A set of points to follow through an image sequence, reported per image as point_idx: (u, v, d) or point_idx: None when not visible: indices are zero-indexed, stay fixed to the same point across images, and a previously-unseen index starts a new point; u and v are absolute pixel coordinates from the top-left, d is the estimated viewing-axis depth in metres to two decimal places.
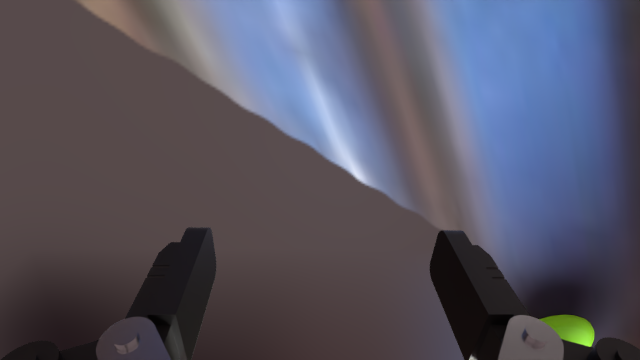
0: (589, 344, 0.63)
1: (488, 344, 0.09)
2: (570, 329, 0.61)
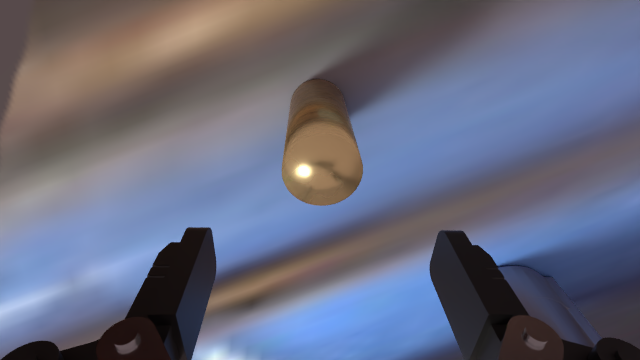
0: None
1: (488, 344, 0.09)
2: None
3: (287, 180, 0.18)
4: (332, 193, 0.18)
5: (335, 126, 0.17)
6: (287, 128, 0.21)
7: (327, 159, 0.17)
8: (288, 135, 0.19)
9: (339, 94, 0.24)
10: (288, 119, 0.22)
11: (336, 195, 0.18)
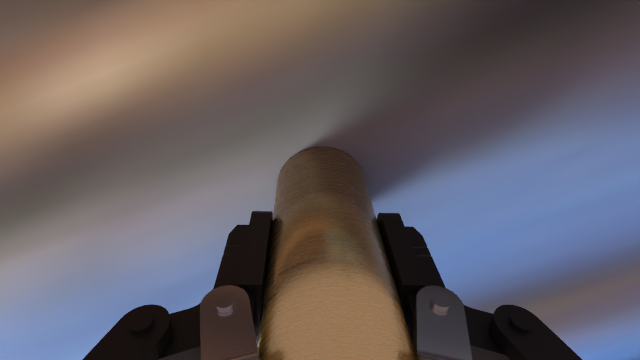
0: None
1: (405, 313, 0.10)
2: None
3: None
4: None
5: (370, 326, 0.08)
6: None
7: None
8: (265, 314, 0.09)
9: (359, 178, 0.14)
10: None
11: None
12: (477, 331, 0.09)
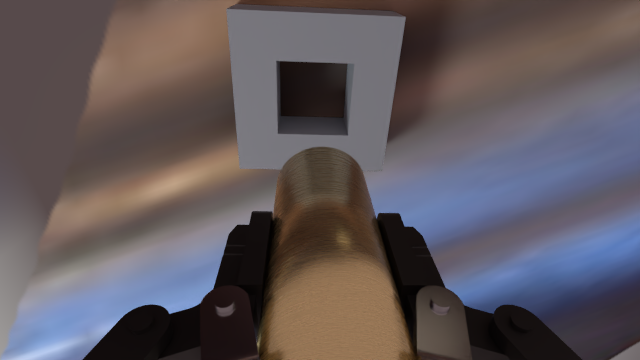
0: None
1: (405, 313, 0.10)
2: None
3: None
4: None
5: (370, 325, 0.08)
6: (266, 270, 0.11)
7: None
8: (265, 313, 0.09)
9: (359, 178, 0.14)
10: None
11: None
12: (477, 331, 0.09)
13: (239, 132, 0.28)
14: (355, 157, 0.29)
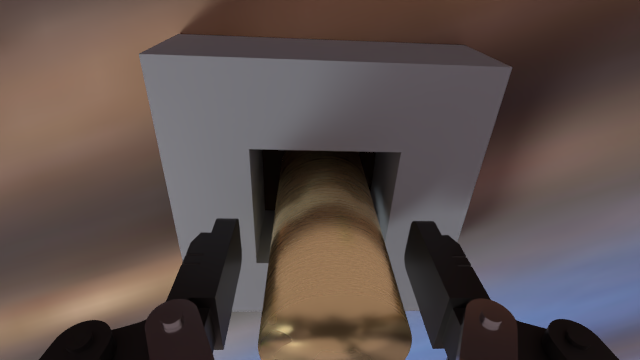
0: None
1: (450, 327, 0.10)
2: None
3: None
4: None
5: (359, 260, 0.09)
6: (273, 229, 0.12)
7: (345, 331, 0.09)
8: (273, 259, 0.11)
9: (354, 156, 0.16)
10: (276, 203, 0.14)
11: None
12: (530, 346, 0.09)
13: None
14: None
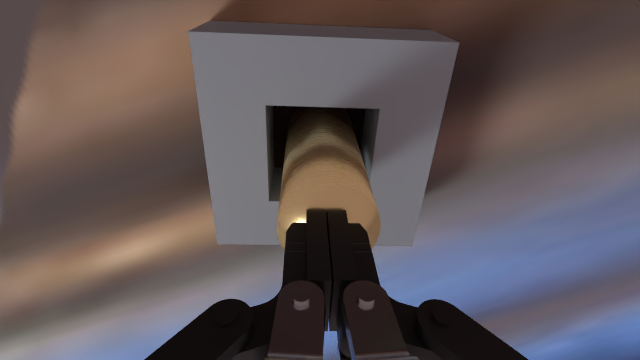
0: None
1: (338, 308, 0.10)
2: None
3: (284, 240, 0.14)
4: None
5: (346, 171, 0.14)
6: (284, 164, 0.17)
7: None
8: (285, 177, 0.15)
9: (346, 117, 0.20)
10: (285, 150, 0.18)
11: None
12: (402, 325, 0.09)
13: (214, 199, 0.20)
14: None
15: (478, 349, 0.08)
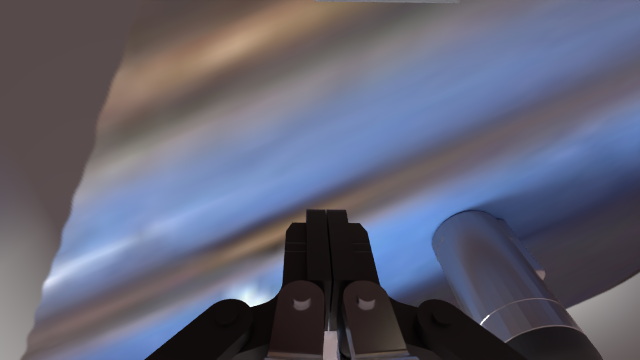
0: None
1: (338, 308, 0.10)
2: None
3: None
4: None
5: None
6: None
7: None
8: None
9: None
10: None
11: None
12: (402, 325, 0.09)
13: None
14: None
15: (478, 349, 0.08)
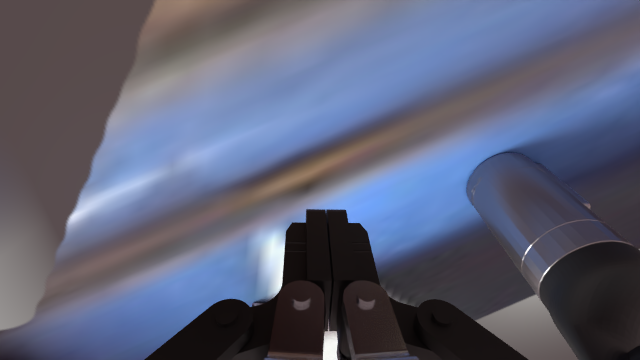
0: None
1: (338, 308, 0.10)
2: None
3: None
4: None
5: None
6: None
7: None
8: None
9: None
10: None
11: None
12: (402, 325, 0.09)
13: None
14: None
15: (478, 349, 0.08)
